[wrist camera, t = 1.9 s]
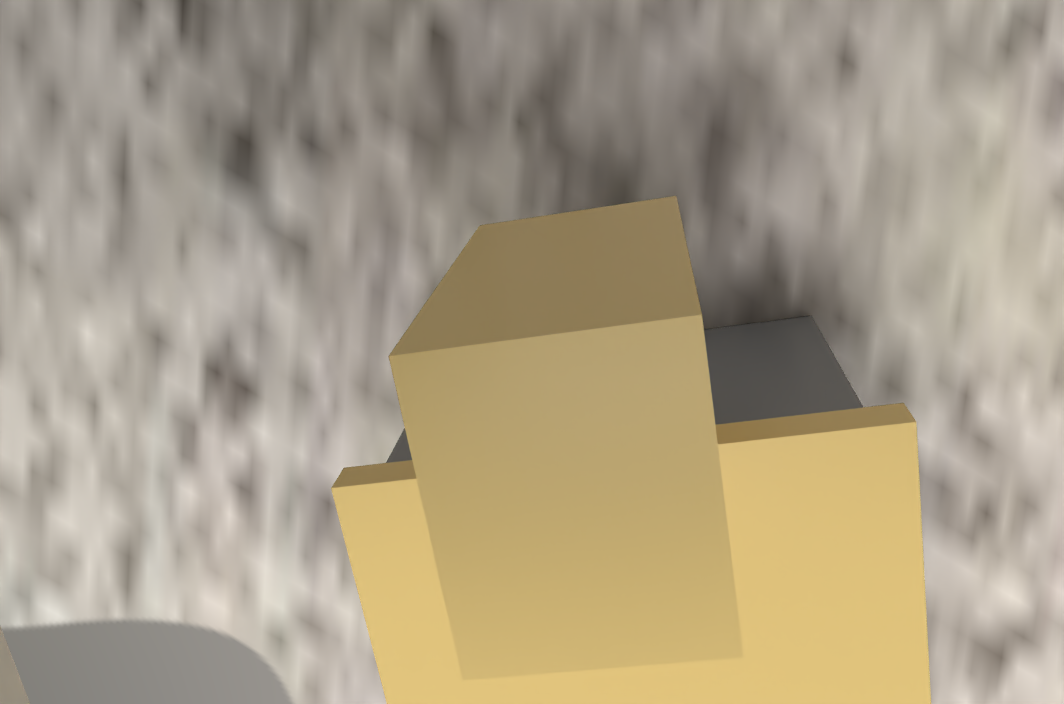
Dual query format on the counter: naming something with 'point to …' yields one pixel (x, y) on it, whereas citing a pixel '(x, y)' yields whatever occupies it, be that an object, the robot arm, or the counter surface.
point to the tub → (761, 374)
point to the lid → (623, 498)
